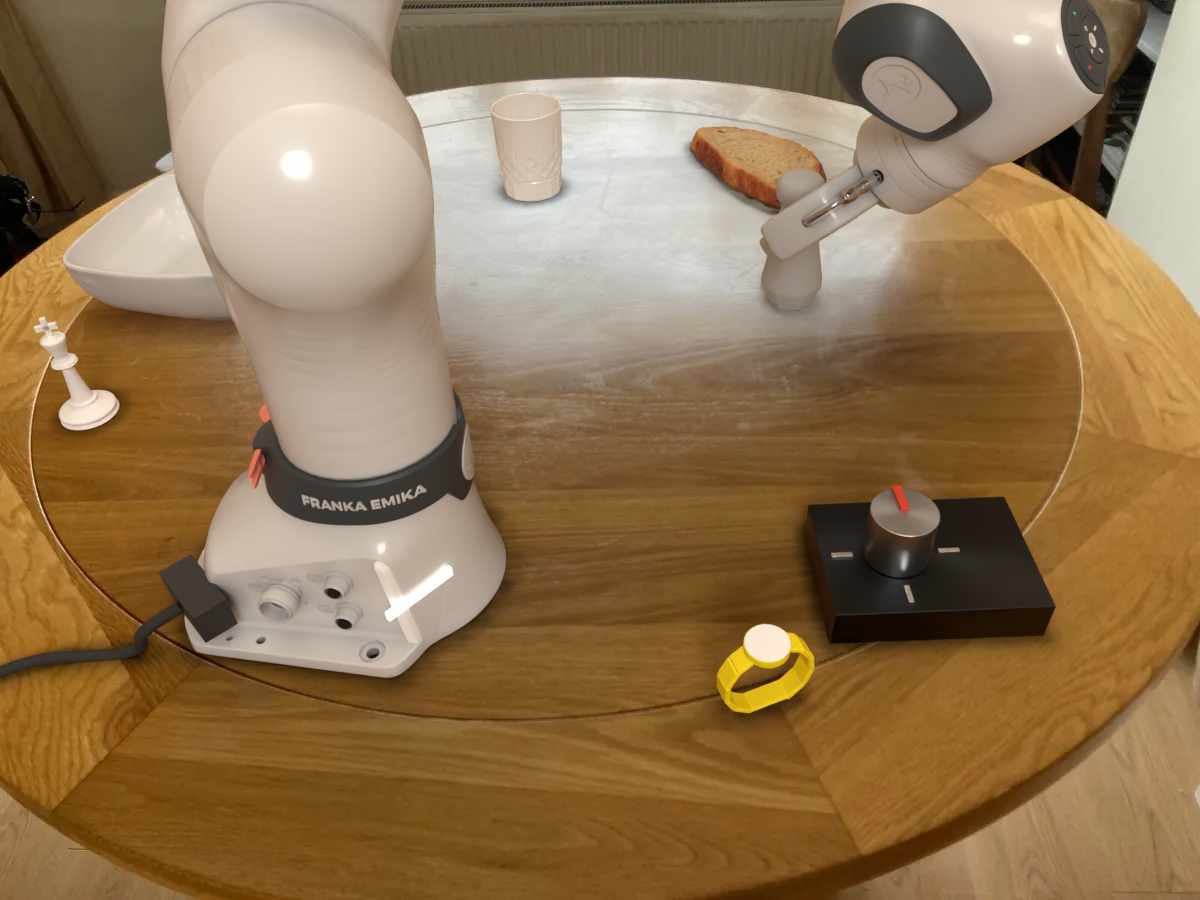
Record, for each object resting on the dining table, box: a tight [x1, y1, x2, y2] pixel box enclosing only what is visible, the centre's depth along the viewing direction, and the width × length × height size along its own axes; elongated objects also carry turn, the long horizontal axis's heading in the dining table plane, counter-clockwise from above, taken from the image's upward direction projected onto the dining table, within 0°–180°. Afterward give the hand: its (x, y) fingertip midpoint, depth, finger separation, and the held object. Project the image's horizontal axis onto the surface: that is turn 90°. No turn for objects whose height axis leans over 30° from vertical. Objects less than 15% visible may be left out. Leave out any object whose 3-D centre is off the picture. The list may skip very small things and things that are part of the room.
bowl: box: [61, 173, 233, 322], centre depth 98 cm, size 20×20×8 cm
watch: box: [715, 623, 816, 714], centre depth 58 cm, size 6×3×6 cm, turn 109°
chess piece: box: [33, 316, 120, 431], centre depth 82 cm, size 5×5×10 cm
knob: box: [862, 484, 940, 578], centre depth 63 cm, size 4×4×4 cm
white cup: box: [489, 92, 563, 203], centre depth 110 cm, size 8×8×10 cm
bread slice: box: [689, 125, 827, 211], centre depth 113 cm, size 18×18×4 cm
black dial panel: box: [803, 496, 1057, 645], centre depth 66 cm, size 14×10×3 cm
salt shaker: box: [760, 168, 825, 312], centre depth 89 cm, size 6×6×13 cm
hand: (798, 226), depth 88 cm, fingers open, 8 cm apart
